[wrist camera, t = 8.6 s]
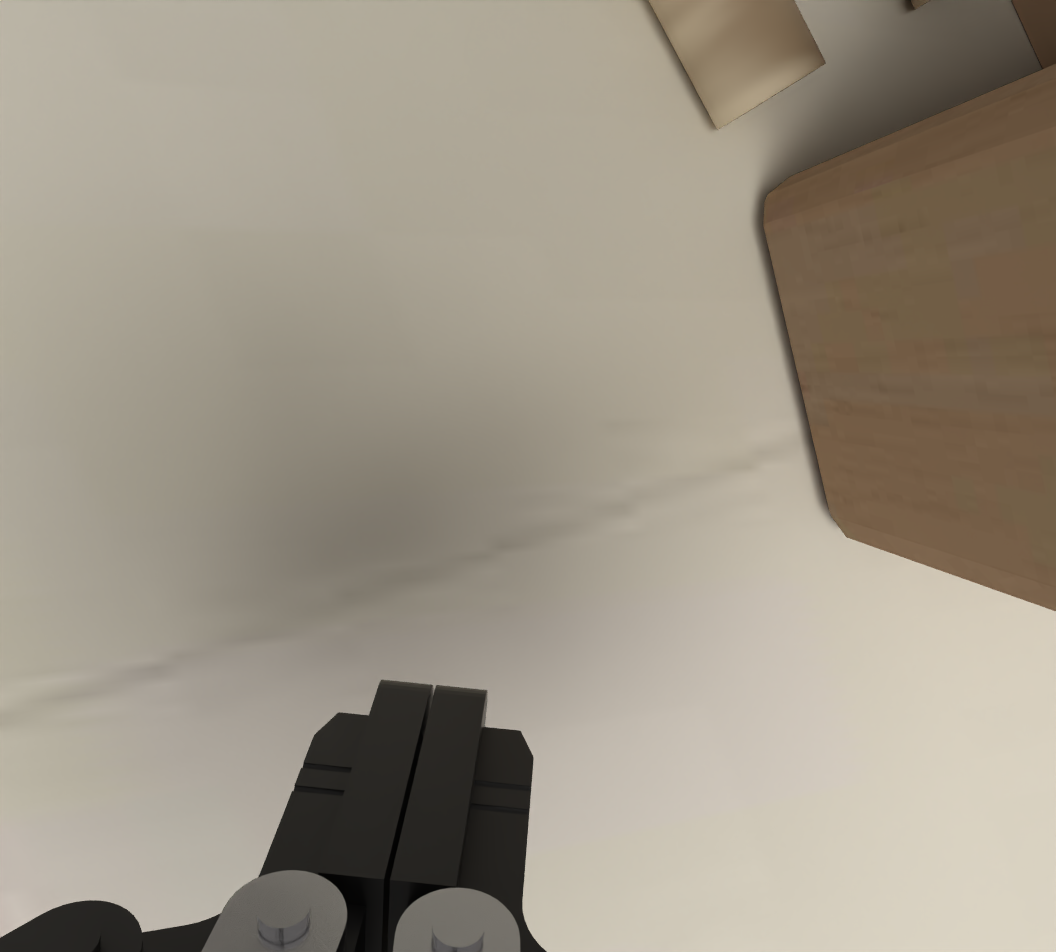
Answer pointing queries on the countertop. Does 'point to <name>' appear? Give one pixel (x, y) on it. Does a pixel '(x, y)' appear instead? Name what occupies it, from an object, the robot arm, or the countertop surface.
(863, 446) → the wooden block
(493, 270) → the countertop surface
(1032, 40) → the board
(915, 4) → the roller
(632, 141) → the countertop surface
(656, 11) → the roller
